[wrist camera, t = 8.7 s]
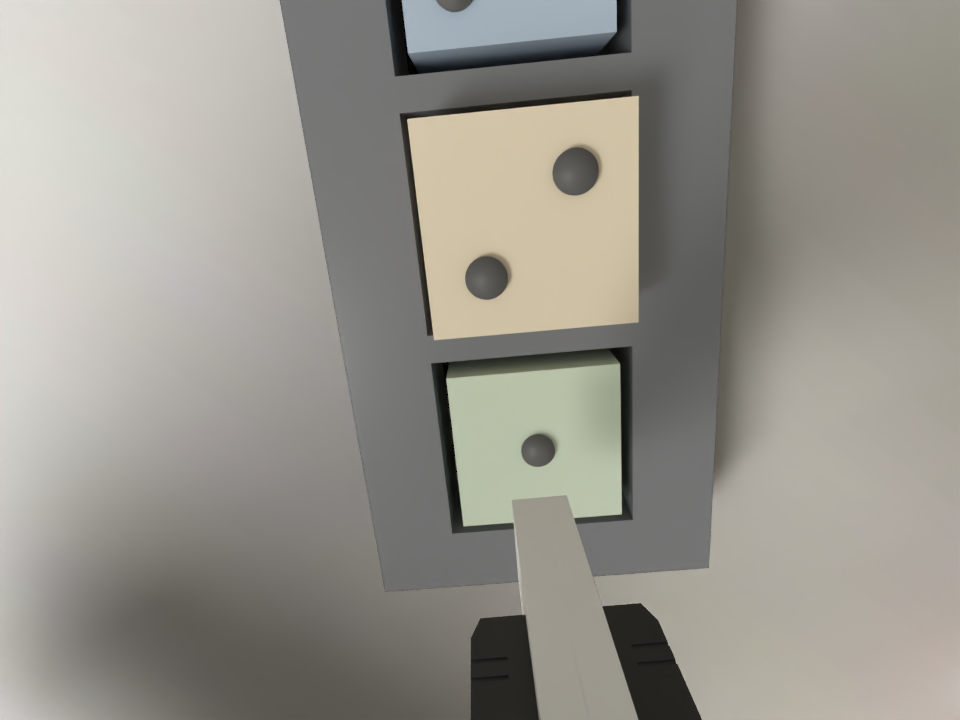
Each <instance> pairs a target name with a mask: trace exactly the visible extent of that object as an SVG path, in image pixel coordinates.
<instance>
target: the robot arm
mask: <svg viewBox="0 0 960 720" xmlns="http://www.w3.org/2000/svg"><path fill="white" fill-rule="evenodd" d="M512 510H513V522H514V534H515V546H516V558H517V570H518V582H519V590H520V599H521V607H522V615H516V616H504V617H493V618H481V619H480V621H479V623H478V625H477V627H476V629H475V631H474V633H473V635H472V637H471V720H702V719H701V717H700V714H699V712H698V710H697V708H696V705H695V703H694V701H693V699H692V696H691V694H690V692H689V689H688V687H687V685H686V683H685V680H684V678H683V676H682V674H681V671H680V669H679V667H678V665H677V664H676V661H675V658H674V656H673V653H672V651H671V649H670V646H668V642H667V640H666V637H665V635H664V633H663V631H662V628H661V626H660V624H659V622H658V620H657V619H656V618H655V617H654V616H653V615H652V614H651V613H650V612H649V611H648V610H647V609H646V608H645V607H644V606H643V605H642V604H641V603H639V604H627V605H615V606H603V607H602V604H601V601H600V598H599V595H598V592H597V589H596V586H595V582H594V579H593V576H592V573H591V570H590V567H589V564H588V560H587V557H586V554H585V551H584V548H583V545H582V542H581V539H580V535H579V532H578V529H577V526H576V523H575V520H574V517H573V514H572V510H571V507H570V504H569V501H568V498H567V495H563V496H551V497H540V498H529V499H517V500H512Z"/></svg>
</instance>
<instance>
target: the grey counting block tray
mask: <svg viewBox="0 0 960 720" xmlns="http://www.w3.org/2000/svg"><path fill="white" fill-rule="evenodd" d="M616 1H617V32H616V33H615V35H614V36H613V37H612V38H611V39H610V40H609V42H608V43H607V44H606V45H605V46H604V47H603V49H602V50H601V56H592V57H582V58H572V59H562V60H553V61H543V62H533V63H523V64H514V65H504V66H494V67H484V68H474V69H465V70H455V71H445V72H435V73H426V74H416V75H409V72H408V64H407V55H406V47H405V38H404V30H403V22H402V13H401V5H400V0H280V4H281V9H282V15H283V21H284V26H285V32H286V38H287V43H288V49H289V54H290V60H291V66H292V71H293V77H294V82H295V88H296V94H297V99H298V105H299V111H300V116H301V122H302V127H303V133H304V139H305V144H306V150H307V155H308V161H309V167H310V172H311V178H312V184H313V189H314V195H315V200H316V206H317V212H318V217H319V223H320V229H321V234H322V240H323V245H324V251H325V257H326V262H327V268H328V273H329V279H330V285H331V290H332V296H333V302H334V307H335V313H336V318H337V324H338V330H339V335H340V341H341V346H342V352H343V358H344V363H345V369H346V375H347V380H348V386H349V391H350V397H351V403H352V408H353V414H354V419H355V425H356V431H357V436H358V442H359V448H360V453H361V459H362V464H363V470H364V476H365V481H366V487H367V492H368V498H369V504H370V509H371V515H372V521H373V526H374V532H375V537H376V543H377V549H378V554H379V560H380V565H381V571H382V577H383V582H384V588H385V592H390V591H403V590H417V589H430V588H444V587H457V586H471V585H484V584H498V583H512V582H518V570H517V558H516V546H515V534H514V523H502V524H489V525H476V526H463V518H462V509H461V501H460V492H459V484H458V480H457V478H456V470H455V461H454V453H453V444H452V436H451V427H450V419H449V411H448V402H447V394H446V385H445V377H444V368H443V362H454V361H466V360H477V359H489V358H500V357H512V356H524V355H535V354H547V353H558V352H570V351H582V350H593V349H605V348H608V349H609V350H610V352H611V353H612V354H613V355H614V357H615V358H616V359H617V360H618V362H619V363H620V390H621V485H622V514H619V515H606V516H593V517H580V518H574V520H575V523H576V526H577V529H578V532H579V535H580V539H581V542H582V545H583V548H584V551H585V554H586V557H587V560H588V564H589V567H590V570H591V573H592V576H606V575H620V574H634V573H647V572H661V571H674V570H688V569H701V568H709V555H710V535H711V515H712V495H713V474H714V454H715V434H716V414H717V394H718V374H719V353H720V333H721V313H722V293H723V273H724V253H725V232H726V212H727V192H728V172H729V152H730V132H731V111H732V91H733V71H734V51H735V31H736V11H737V0H616ZM632 96H639V322H637V323H626V324H614V325H603V326H592V327H580V328H569V329H557V330H546V331H534V332H523V333H512V334H500V335H489V336H477V337H466V338H454V339H443V340H434V336H433V328H432V319H431V311H430V303H429V295H428V287H427V278H426V270H425V262H424V254H423V246H422V237H421V229H420V221H419V213H418V205H417V196H416V188H415V180H414V172H413V164H412V155H411V147H410V139H409V131H408V123H407V119H412V118H422V117H432V116H442V115H452V114H462V113H472V112H482V111H492V110H502V109H512V108H522V107H532V106H542V105H552V104H562V103H572V102H582V101H592V100H602V99H612V98H622V97H632Z"/></svg>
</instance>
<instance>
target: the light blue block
mask: <svg viewBox="0 0 960 720" xmlns="http://www.w3.org/2000/svg"><path fill="white" fill-rule="evenodd" d="M402 7H403V15H404V24H405V32H406V41H407V49H408V54H409V56H410V58H411V60H412V62H413V64H414V66H415V68H416V69H417V71H418V73H419V74H426V73H435V72H445V71H455V70H465V69H474V68H484V67H494V66H504V65H514V64H523V63H533V62H543V61H553V60H562V59H572V58H582V57H592V56H597V54H598V53H599V52H600V51H601V50H602V49H603V47H604V46H605V45H606V44H607V43H608V42H609V40H610V39H611V38H612V37H613V36H614V35H615V33H616V32H617V1H616V0H402Z"/></svg>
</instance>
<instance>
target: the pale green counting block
mask: <svg viewBox="0 0 960 720" xmlns="http://www.w3.org/2000/svg"><path fill="white" fill-rule="evenodd" d="M446 381H447V390H448V398H449V407H450V415H451V424H452V432H453V441H454V450H455V458H456V467H457V475H458V484H459V492H460V501H461V509H462V518H463V526H476V525H489V524H502V523H514V522H513V510H512V500H517V499H529V498H540V497H551V496H563V495H567V498H568V501H569V504H570V507H571V510H572V514H573V517H574V518H580V517H593V516H606V515H619V514H622V485H621V390H620V363H619V362H618V360H617V359H616V358H615V357H614V355H613V354H612V353H611V352H610V350H609V349H608V348H605V349H593V350H582V351H570V352H558V353H547V354H535V355H524V356H512V357H500V358H489V359H477V360H466V361H454V362H449V366H448V371H447V377H446Z"/></svg>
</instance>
